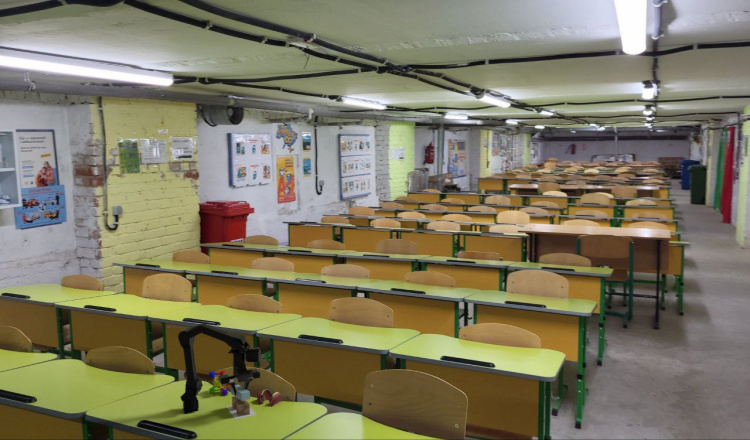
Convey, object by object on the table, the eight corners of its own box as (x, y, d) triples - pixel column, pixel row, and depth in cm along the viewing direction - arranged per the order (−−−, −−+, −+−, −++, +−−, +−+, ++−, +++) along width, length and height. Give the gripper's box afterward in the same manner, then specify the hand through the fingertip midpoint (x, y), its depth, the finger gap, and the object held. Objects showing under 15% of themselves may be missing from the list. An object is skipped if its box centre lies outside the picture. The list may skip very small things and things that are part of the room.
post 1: (234, 410, 281) (234, 400, 281) (232, 406, 286) (231, 396, 285) (245, 408, 283) (244, 398, 283) (242, 404, 288) (242, 394, 287)
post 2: (239, 416, 274) (238, 406, 274) (236, 412, 278) (236, 402, 278) (249, 414, 276) (249, 403, 276) (246, 410, 281) (246, 400, 280)
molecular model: (207, 393, 304) (206, 371, 303) (216, 389, 310) (216, 367, 309) (224, 397, 299) (224, 375, 298) (234, 392, 305) (233, 371, 304)
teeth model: (275, 395, 284) (255, 391, 290) (275, 407, 285) (255, 404, 290) (285, 389, 292) (265, 386, 297) (285, 402, 292) (265, 398, 297)
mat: (235, 419, 271) (235, 419, 271) (226, 407, 286) (226, 406, 286) (256, 415, 276) (256, 414, 276) (246, 403, 291) (246, 402, 291)
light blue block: (250, 398, 277) (249, 391, 277) (242, 401, 274) (241, 393, 274) (238, 391, 286) (238, 384, 286) (230, 393, 284) (230, 386, 283)
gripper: (223, 370, 268) (224, 403, 269) (263, 363, 276) (264, 396, 278) (217, 363, 277) (218, 395, 279) (256, 357, 286) (257, 388, 287)
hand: (240, 394), depth 280 cm, fingers closed on light blue block, 4 cm apart
